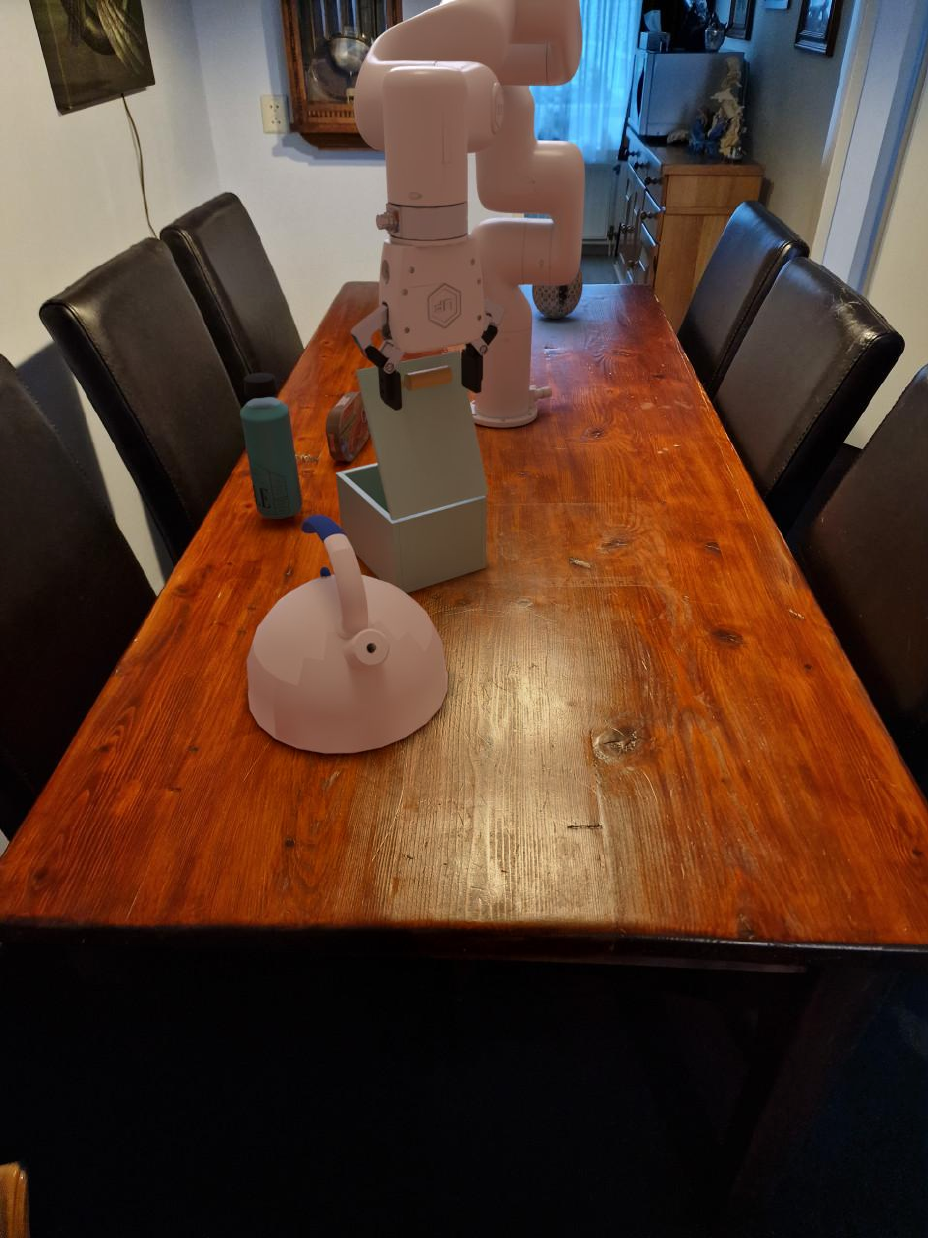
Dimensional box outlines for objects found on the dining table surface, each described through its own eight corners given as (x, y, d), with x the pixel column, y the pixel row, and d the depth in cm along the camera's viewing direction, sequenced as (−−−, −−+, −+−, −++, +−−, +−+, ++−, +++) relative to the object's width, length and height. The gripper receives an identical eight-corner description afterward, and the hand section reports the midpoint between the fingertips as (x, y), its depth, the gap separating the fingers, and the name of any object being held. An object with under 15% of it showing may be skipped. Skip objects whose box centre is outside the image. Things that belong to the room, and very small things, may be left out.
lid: (355, 370, 87) (372, 363, 83) (456, 351, 92) (478, 344, 88) (390, 520, 91) (409, 521, 87) (485, 493, 97) (507, 493, 92)
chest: (342, 540, 108) (335, 472, 102) (425, 517, 113) (423, 451, 107) (396, 596, 97) (392, 523, 91) (486, 567, 102) (487, 497, 96)
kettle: (274, 785, 72) (241, 619, 62) (231, 653, 88) (199, 503, 77) (481, 722, 79) (484, 562, 68) (407, 610, 94) (400, 466, 84)
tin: (345, 470, 125) (340, 418, 121) (326, 469, 126) (320, 416, 121) (373, 433, 137) (370, 384, 133) (356, 431, 138) (351, 382, 133)
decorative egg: (526, 312, 198) (529, 245, 190) (574, 310, 200) (578, 244, 191) (535, 325, 189) (538, 256, 180) (585, 323, 190) (590, 254, 181)
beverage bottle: (313, 511, 115) (295, 369, 103) (290, 533, 109) (269, 387, 98) (272, 504, 116) (250, 364, 105) (247, 525, 111) (222, 381, 100)
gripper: (362, 238, 71) (375, 425, 81) (525, 219, 78) (519, 393, 88) (328, 225, 76) (344, 402, 86) (484, 208, 84) (482, 373, 94)
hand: (432, 397), depth 87 cm, fingers open, 9 cm apart
